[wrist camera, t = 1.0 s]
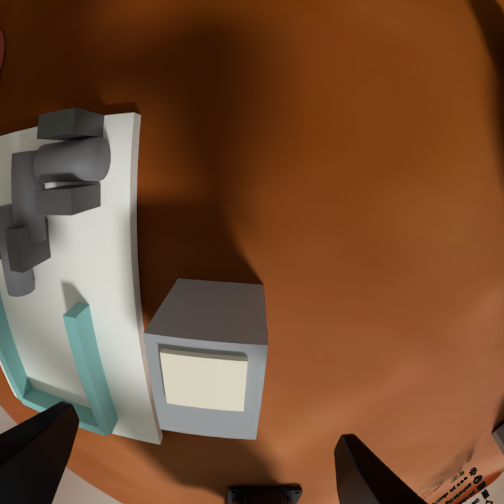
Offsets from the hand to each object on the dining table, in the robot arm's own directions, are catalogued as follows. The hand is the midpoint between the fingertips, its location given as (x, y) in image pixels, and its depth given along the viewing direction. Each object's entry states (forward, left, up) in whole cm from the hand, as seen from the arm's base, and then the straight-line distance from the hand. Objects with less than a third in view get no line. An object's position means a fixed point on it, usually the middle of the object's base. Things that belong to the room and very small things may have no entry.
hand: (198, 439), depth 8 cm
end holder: (-3, +11, -7) cm, 13 cm away
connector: (0, 0, -7) cm, 7 cm away
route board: (0, +11, -7) cm, 13 cm away
